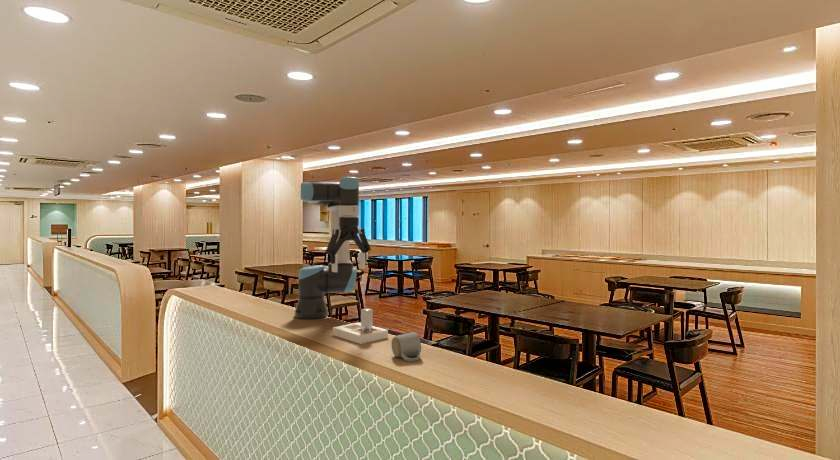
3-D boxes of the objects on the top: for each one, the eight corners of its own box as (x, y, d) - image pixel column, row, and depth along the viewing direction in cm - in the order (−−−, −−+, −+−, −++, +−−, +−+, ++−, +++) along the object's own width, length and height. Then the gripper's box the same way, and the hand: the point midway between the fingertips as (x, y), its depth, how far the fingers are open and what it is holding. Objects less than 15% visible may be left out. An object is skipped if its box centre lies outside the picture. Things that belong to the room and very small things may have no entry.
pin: (361, 337, 178) (361, 308, 178) (373, 337, 178) (373, 308, 178) (360, 340, 174) (360, 310, 173) (371, 340, 174) (371, 311, 173)
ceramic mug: (390, 354, 155) (390, 332, 155) (412, 351, 159) (412, 329, 158) (403, 364, 146) (403, 340, 145) (426, 360, 149) (426, 337, 149)
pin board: (332, 335, 181) (332, 326, 181) (359, 329, 190) (359, 321, 190) (360, 344, 168) (360, 335, 168) (387, 337, 177) (388, 329, 177)
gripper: (327, 217, 169) (327, 274, 170) (379, 216, 187) (378, 268, 188) (316, 216, 174) (316, 272, 176) (367, 215, 192) (367, 266, 194)
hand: (348, 270), depth 182 cm, fingers open, 13 cm apart
